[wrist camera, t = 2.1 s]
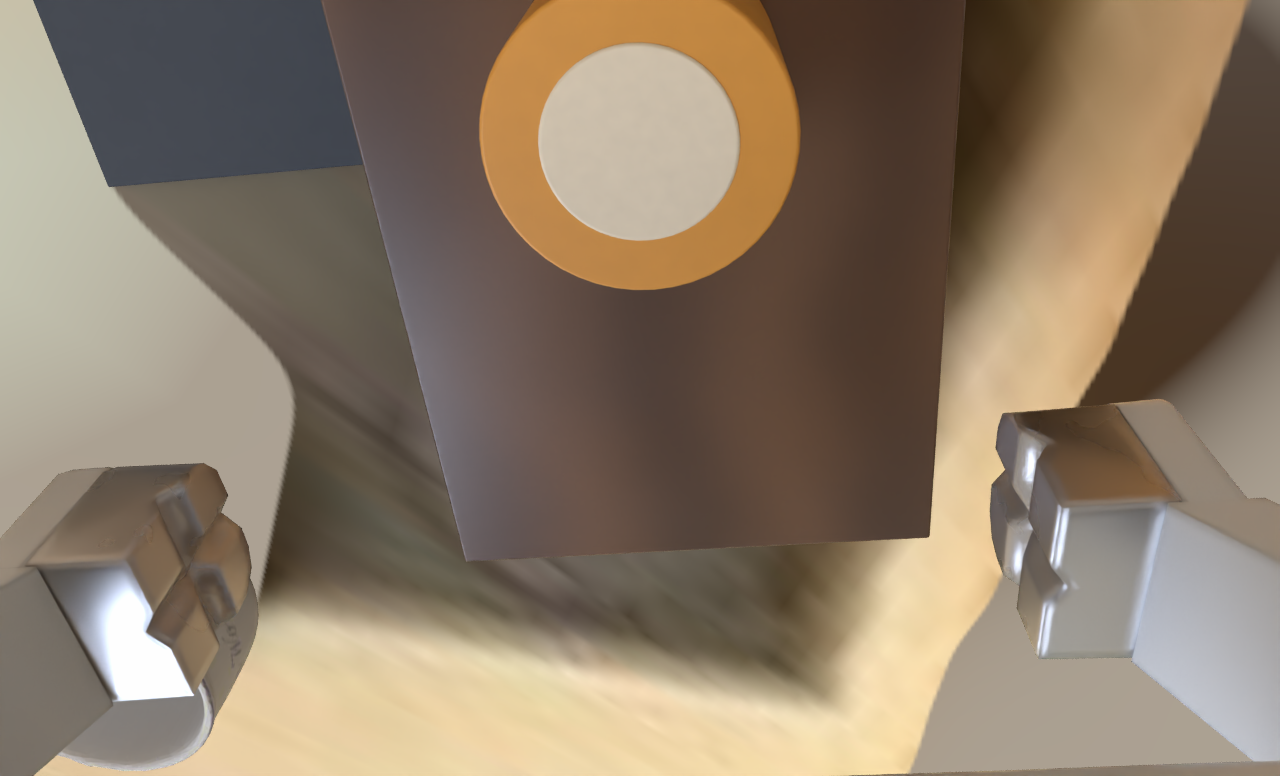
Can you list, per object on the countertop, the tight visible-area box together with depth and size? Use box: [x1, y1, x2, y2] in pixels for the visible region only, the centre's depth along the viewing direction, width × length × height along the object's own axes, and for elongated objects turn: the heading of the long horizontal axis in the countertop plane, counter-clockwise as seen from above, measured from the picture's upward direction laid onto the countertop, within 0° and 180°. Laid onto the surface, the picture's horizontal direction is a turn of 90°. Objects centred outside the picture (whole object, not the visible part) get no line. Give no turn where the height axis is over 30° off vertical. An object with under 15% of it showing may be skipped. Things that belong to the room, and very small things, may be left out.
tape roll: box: [479, 0, 801, 290], centre depth 20 cm, size 6×6×5 cm
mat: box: [33, 0, 363, 187], centre depth 33 cm, size 12×12×1 cm
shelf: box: [321, 0, 966, 562], centre depth 29 cm, size 14×20×12 cm
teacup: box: [58, 579, 258, 771], centre depth 43 cm, size 14×11×8 cm
